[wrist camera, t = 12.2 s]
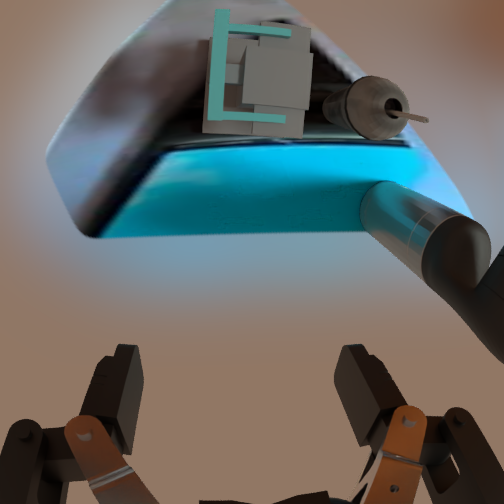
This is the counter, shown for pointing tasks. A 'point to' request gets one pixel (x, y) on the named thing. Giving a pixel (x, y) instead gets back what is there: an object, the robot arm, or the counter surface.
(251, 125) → the stand
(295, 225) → the counter surface
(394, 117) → the beverage cup
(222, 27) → the teal c-shaped bracket
